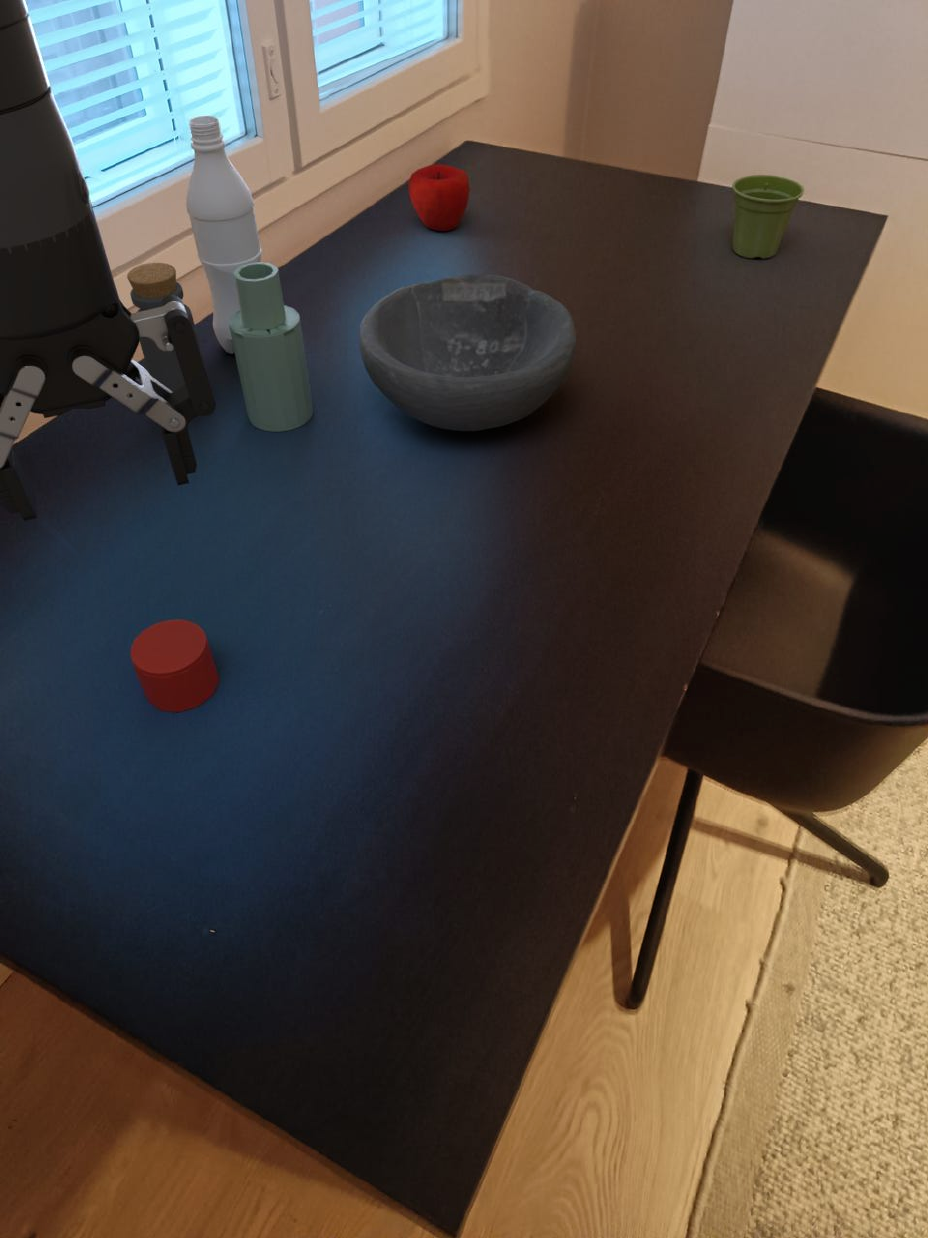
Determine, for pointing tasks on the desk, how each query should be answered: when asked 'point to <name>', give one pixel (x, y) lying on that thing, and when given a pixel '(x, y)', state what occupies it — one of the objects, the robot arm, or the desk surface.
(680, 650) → the desk surface
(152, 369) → the bottle
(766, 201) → the plant pot
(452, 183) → the apple
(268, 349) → the ceramic bottle
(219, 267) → the water bottle
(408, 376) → the bowl
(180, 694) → the cap
